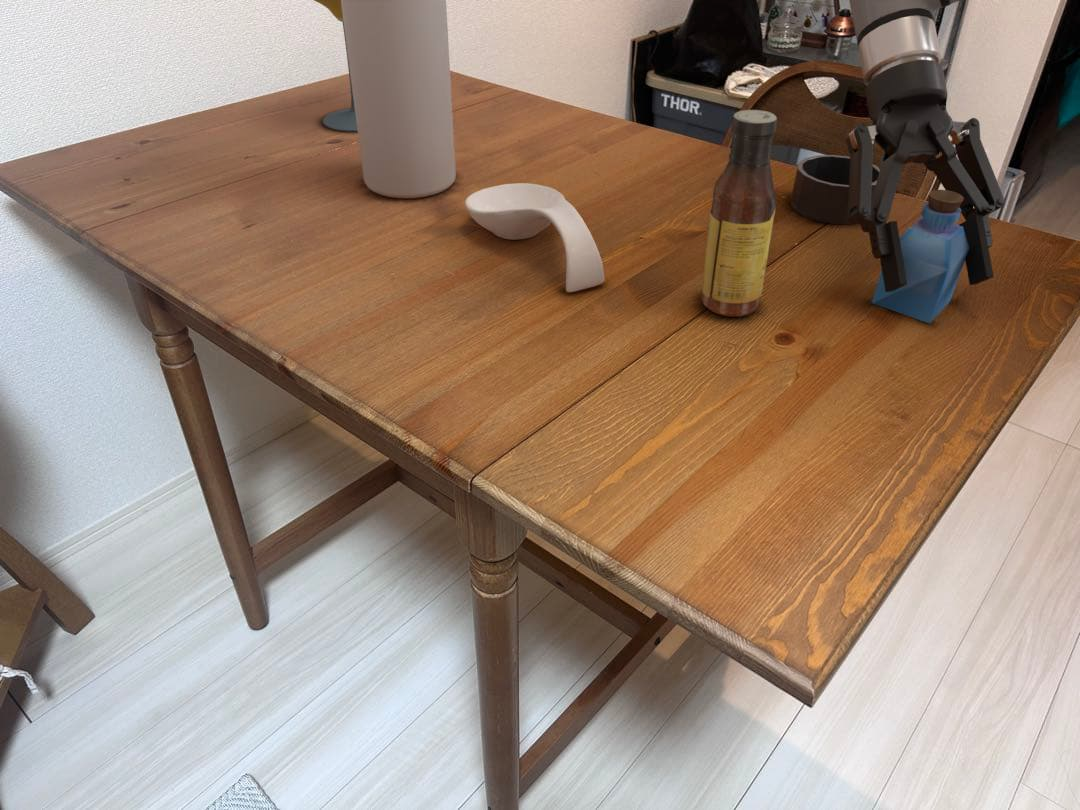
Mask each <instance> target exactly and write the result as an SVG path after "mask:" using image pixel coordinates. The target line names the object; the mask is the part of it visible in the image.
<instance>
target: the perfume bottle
mask: <svg viewBox="0 0 1080 810" xmlns="http://www.w3.org/2000/svg"><path fill="white" fill-rule="evenodd" d="M963 199H964V198H963V196H961V195H960V194H958V193H956V192H953V191H948V190H945V189H934V190H931V191H929V194H928V201H926V202H924V203H923V207H922V210H921V212H920V213H921V217H920V218H918V219H917V220H916V221H915V222H914V223H913V224H911V226H910V227H908V228H907V229H906V231H904V233H903V234H901V236H899V238H900V244H901V250H902V256H903V261H904V267H905V273H906V279H907V284H906V285H904V286H902V287H900V288H898V289H896V290H894V291H891V292H885V286H884V280H883V274H882V269H881V270H880V273H879V274H880V275H879V277H878V281H877V284H876V287H875V290H874V293H873V297H872V301H871V304H873V305H876V306H879V307H881V308H884V309H887V310H890V311H893V312H896V313H899V314H902V315H905V316H906V317H910V318H913V319H916V320H919V321H921V322H924V323H927V324H931V322H933V321H934V319H935V318H936V317H937V316H938V315H939V314H940V313H941V312H942V311H943V310H944V308H946V306H948V304H950V302H951V300H952V297H953V294H954V292H955V289H956V286H957V284H958V281H959V278H960V275H961V273H962V270H963V268H964V265H965V263H966V262H965V259H966V257H967V254H968V251H969V245H968V242H967V239H966V235H965V232H964V229H963V226H959V224H956V223H957V222H958V221H959V218H960V216H961V209H960V208H959V206H960V204H961V203H962V201H963Z"/></svg>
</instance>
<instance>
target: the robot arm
mask: <svg viewBox="0 0 1080 810" xmlns="http://www.w3.org/2000/svg"><path fill="white" fill-rule="evenodd" d="M848 1H849V6H850V11H851V12H850V13H851V18H852V22H853V28H854V34H855V37H856V44H857V49H858V55H859V60H860V66H861V73H862V77H863V83H864V85H866V87H865V90H864V92H865V98H866V105H867V110H868V115H869V119H870V121H871V122H872V124H871V125H867V124H865V123H858V125H857V126H856V127H854V128H853V130H851V131H850V132H849V133H848V134H847V135H846V136H845V143H846V147H847V151H848V154H849V157H850V172H849V194H848V216H847V219H848V222H849V223H850V224H849V225H851V226H856V225H860V228H861V230H862V232H864V233H868V236H869V237H868V238H869V242H870V248H871V254H872V256H873V259H875V260H877V259H879V262H880V267H881V270H882V274H883V280H884V286H885V292H891V291H894V290H896V289H898V288H900V287H902V286H904V285H906V284H907V279H906V273H905V267H904V261H903V256H902V250H901V244H900V233H899V227H898V221H897V220H894V221H888V220H889V216H890V213H891V209H892V206H893V203H894V200H895V196H896V192H897V189H898V186H899V181H900V179H901V176H902V175H901V174H902V172H903V168H904V166H905V165H908V164H910V163H914V164H923V165H924V166H925V168H926V169H927V170H928V171H929V172H932V173H934V175H935V176H936V178H937V179H938V181H939V183H940V184H941V186H942V187H943V189H944V190H948V191H953V192H956V193H958V194H960V195H961V196H963V198H964V199H963V201H962V203H961V204H960V206H959V208H960V209H961V213H960V215H962V217H963V219H964V221H963V222H962V223H960V224H958V225H959V226H963V229H964V232H965V235H966V239H967V242H968V245H969V251H968V254H967V257H966V259H965V262H964V263H965V267H966V272H967V273H966V274H967V278H968V283H969V286H973V285H979V284H981V283H983V282H986V281H988V280H990V279H992V278H993V279H994V277H995V276H994V271H993V265H992V260H991V254H990V249H989V248H991V247H993V244H994V240H993V234H992V230H991V224H990V215H991V214H992V213H995V212H996V211H998V210H1000V209H1002V208H1003V207H1005V205H1006V200H1005V197H1004V194H1003V192H1002V190H1001V187H1000V184H999V182H998V180H997V177H996V175H995V172H994V170H993V167H992V165H991V163H990V159H989V157H988V155H987V152H986V150H985V147H984V145H983V142H982V140H981V124H980V121H979V119H977V118H976V117H971V118H970V119H968V120H967V121H956V120H953V118H952V117H951V115H950V114H949V112H948V110H947V101H948V89H947V84H946V83H947V82H946V77H945V73H944V68H943V65H942V64H941V60H942V53H941V48H940V44H939V39H938V34H937V28H936V23H935V18H934V11H937V10H939V9H942V8H946V7H948V6H950V5H952V4H954V3H958V2H961V0H848ZM949 136H950V137H951V140H950V138H949ZM874 143H877V145H878V146H879V147H880V149H882V151H883V152H882V155H881V159H880V162H879V165H878V168H879V169H880V172H879V176H878V179H877V183H876V186H875V189H874V193H873V196H872V200H871V192H872V167H873V165H874V163H873V162H874ZM940 153H941V155H940V156H939V154H940ZM936 156H939V157H936ZM887 221H888V222H887Z"/></svg>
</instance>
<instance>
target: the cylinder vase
mask: <svg viewBox="0 0 1080 810" xmlns="http://www.w3.org/2000/svg"><path fill="white" fill-rule="evenodd" d="M341 6H342V14H343V21H344V29H345V37H346V44H345V46H346V45H347V52H346V54H347V53H348V60H349V68H350V76H351V84H352V91H353V99H354V107H355V115H356V123H357V130H358V132H357V137H358V146H359V153H360V160H361V168H362V176H363V177H362V178H363V181H364V184H365V185H366V187H367V188H368V189H369V190H370V191H372V192H374V193H376V194H378V195H381V196H384V197H388V198H394V199H418V198H419V199H420V198H426V197H430V196H433V195H437V194H439V193H442V192H444V191H446V190H448V189H449V188H450V187H451V186H452V185H453V184H454V182H455V181H456V176H457V173H456V155H455V136H454V118H453V101H452V99H453V97H452V82H451V65H450V64H451V63H450V49H449V47H450V46H449V30H448V27H449V26H448V12H447V0H341ZM344 29H343V30H344ZM345 37H344V38H345Z"/></svg>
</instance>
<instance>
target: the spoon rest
mask: <svg viewBox="0 0 1080 810" xmlns="http://www.w3.org/2000/svg"><path fill="white" fill-rule="evenodd" d="M464 206H465V209H466V211H467V213H468V214H469V216H470V217H471V218H472V219H473V220H474V222H476V223H477V224H478V225H479V226H480V227H482V228H484V229H486V230H487V231H489V232H491V233H493V234H494V235H495V236H496V237H499V238H501V239H505V240H513V241H514V240H515V241H516V240H525V239H530V238H533V237H535V236H537V235H538V234H539V233H540V232H541V231H543V230H545V229H546V228H548V227H549V226H550V225H551V224H552V225H553V226H554V227H555V229H556V230H557V232H558V233H559V236H560V237H561V240H562V243H563V247H564V251H565V258H566V259H565V262H566V263H565V264H566V265H565V266H566V269H565V272H566V273H565V292H567V293H574V292H578V291H582V290H586V289H590V288H593V287H597V286H600V285H602V284H603V283H604V282H605V271H604V264H603V261H602V257H601V254H600V252H599V248H598V246H597V244H596V242H595V241H596V240H594V238H593V236H592V233H591V231H590V229H589V228H588V226H587V224H586V222H585V221H584V219H583V218H582V216H581V215H580V213H579V212H578V210H577V209H576V208H575V207H574V206H573V204H571V203H570V202H569V201H568V200H566V197H565V196H564V195H563V194H562V193H561V192H559V191H558V190H557V189H554V188H553V187H550V186H546V185H541V184H536V183H529V182H528V183H525V182H520V183H519V182H517V183H505V184H499V185H494V186H491V187H486V188H485V187H484V188H482V189H480V190H477V191H475V192H472V193H471V194H470V195H469V196H467V197H466V199H465V201H464Z"/></svg>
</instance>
